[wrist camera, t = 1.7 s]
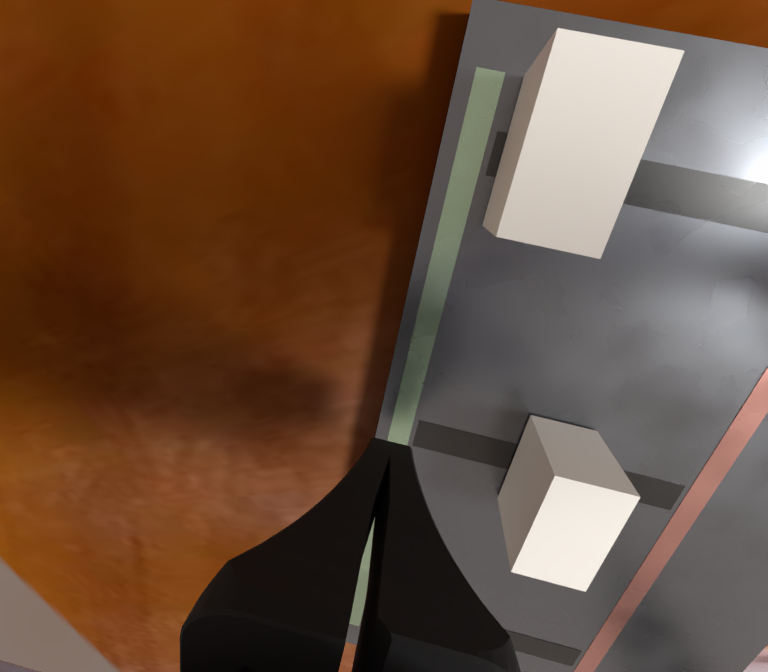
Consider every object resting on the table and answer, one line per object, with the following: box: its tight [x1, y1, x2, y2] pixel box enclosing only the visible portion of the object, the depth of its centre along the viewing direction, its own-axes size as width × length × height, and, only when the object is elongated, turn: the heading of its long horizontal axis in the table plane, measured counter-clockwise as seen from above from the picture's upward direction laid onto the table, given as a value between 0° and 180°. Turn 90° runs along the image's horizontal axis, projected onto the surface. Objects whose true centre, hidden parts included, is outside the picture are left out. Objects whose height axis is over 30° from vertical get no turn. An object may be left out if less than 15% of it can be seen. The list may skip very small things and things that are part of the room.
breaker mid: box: [497, 415, 640, 592], centre depth 13 cm, size 2×4×3 cm, turn 169°
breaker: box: [482, 28, 684, 259], centre depth 10 cm, size 2×4×3 cm, turn 169°
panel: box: [346, 0, 768, 672], centre depth 15 cm, size 18×27×1 cm, turn 169°
